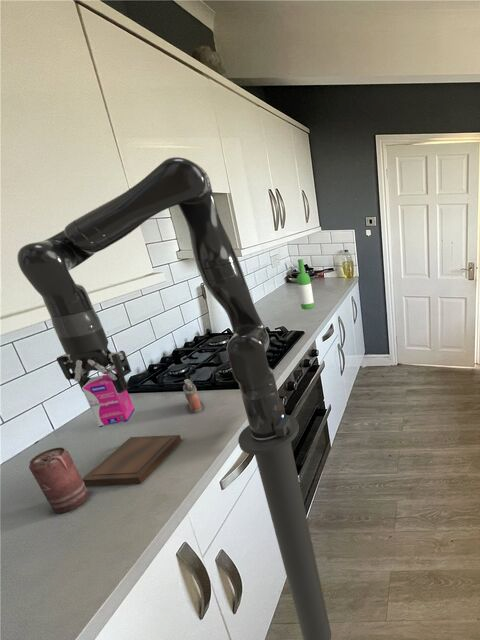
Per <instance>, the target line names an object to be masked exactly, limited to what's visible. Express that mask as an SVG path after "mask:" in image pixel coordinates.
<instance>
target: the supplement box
mask: <svg viewBox="0 0 480 640" xmlns="http://www.w3.org/2000/svg"><path fill="white" fill-rule="evenodd" d="M114 373H115V374H116V372H114ZM112 380H113V379H111V378H110V377H109V376H108V375H107V374H103V375H97V376H91V377H90V380H89V381H88V382H87V383H86V384H85V385H84V386H83V388H82V389H81V391H82V390H83V391H82V393H83V394H84V396H85V399H86V401H87V403H88V405H89V407H90V410H91V412H92V414H93V417H94V419H95V421H96V423H97V425H98V428H103V427H104V428H105V427H107V426H113V425H116V424H122V423H127V422H129V420H130V418H131V416H132V415H133V413H134V411H135V407H134V404H133V402H132V399H131V396H130V394H129V392H128V388H127V389H126V390H125V391H124V392H122V393H117V391H116V389H115V386H114V384H113V381H112Z"/></svg>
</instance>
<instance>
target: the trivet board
mask: <svg viewBox="0 0 480 640" xmlns="http://www.w3.org/2000/svg"><path fill="white" fill-rule="evenodd" d="M181 441H182V438H181V434H171V435H169V434H167V435H148V436H147V435H145V436H130V437H129V438H127V440H125V441H124V442H123V443H122V444H121V445H120V446H119V447H118V448H116V449H115V450H114V451H113V452H112V453H110V454H109V455H108V456H106V457H105V459H103V460H102V461H101V462H99V464H98V465H96V466H95V467H94V468H93V469H92V470H91V471H90V472H88V473H87V474H86V475H85V476H84V477H82V480H83V482H84V484H85V486H86V487H96V486H97V487H98V486H117V485H119V486H120V485H137V484H139V485H140V484H142V483H143V482H144V481H145V480H146V479H147V478H148V477H149V476H150V475H151V473H153V471H154V470H156V468H157V467H158V466H159V465H160V464H161V463H162V462H163V461H164V460H165V459H166V457H167V456H169V455H170V454H171V452H172V451H174V449H175V448H176V447H177V446H178V445H179V444H180V443H181Z"/></svg>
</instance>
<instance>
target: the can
mask: <svg viewBox="0 0 480 640" xmlns="http://www.w3.org/2000/svg"><path fill="white" fill-rule="evenodd" d="M28 463H29V465H28V469H29V471H30V472H31V474H32V476H33V478H34V479H35V481H36V483H37V485H38V486H39V488H40V490H41V491H42V494H43V495H44V497H45V499H46V501H47V502H48V504H49V505H50V508H51V509H52V512H54V513H57V514H64V513H68V512H70V511H74V510H75V509H77V508H79V507H80V506H82V505H84V503H85V502H87V500H88V498H89V495H90V492H89V490H88V487H87V486H85V484H84V482H83V480H82V479H83V477H82V476H81V474H80V472H79V470H78V468H77V466H76V464H75V462H74V460H73V457H72V456H71V454H70V452H69V451H68V450H67V449H65V448H64V447H54V448H50V449H48V450H45V451H42V452H40V453H39V454H37V455H35V456H34V457H32V458H31V459H30V461H29V462H28Z"/></svg>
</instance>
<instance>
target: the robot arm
mask: <svg viewBox="0 0 480 640" xmlns="http://www.w3.org/2000/svg"><path fill="white" fill-rule="evenodd" d="M176 206H178V207H179V209H180V212H181V214H182V216H183V219H184V220H185V222H186V226H187V228H188V232H189V239H190V246H191V251H192V255H193V258H194V262H195V265H196V268H197V270H198V273H199V275H200V277H201V280H202V282H203V285H204V286H205V288H206V290H207V291H208V292H209V294H210V295H211V296H212V297H213V299H214V300H215V301H216V302H217V303H218V304H219V305H220V307H222V309H223V310H224V312H225V314H226V315H227V319H228V320H229V323H230V326H231V329H232V333H233V335H232V336H231V338H230V339H229V340H228V342H227V345H226V355H227V360H228V362H229V366H230V369H231V373H232V376H233V379H234V380H235V381H236V382H237V383H238V387H239V390H240V395H241V399H242V402H243V406H244V410H245V414H246V418H247V422H248V425H249V426H250V429H251V435H252V438H253V439H254V440H256V441H261V442H263V441H269V440H272V439H275V438H277V437H281V436H286V435H288V434H290V433H291V428H290V426H291V424H290V420H289V418H286V415H287V414H286V410H285V404H284V399H283V398H280V395H279V391H278V387H277V381H276V377H275V372H274V370H273V368H272V367H270V366H269V362H268V357H267V354H266V353H267V351H268V348H269V345H270V336H269V333H268V331H267V328H266V327H265V325H264V323H263V321H262V320H261V317H260V316H259V313H258V311H257V309H256V307H255V304H254V302H253V298H252V295H251V292H250V289H249V286H248V284H247V280H246V278H245V275H244V271H243V269H242V266H241V262H240V260H239V258H238V257H239V256H238V255H237V253H236V251H235V250H236V249H234V246H233V244H232V241H231V239H230V237H229V235H228V233H227V231H226V229H225V227H224V225H223V222H222V220H221V217H220V215H219V211H218V208H217V204H216V200H215V196H214V192H213V189H212V183H211V180H210V177H209V175H208V174H207V172H206V170H205V169H204V168H203V167H201V166H200V165H199V164H198V163H196V162H194V161H192V160H190V159H188V158H185V157H179V156H174V157H169V158H166V159H165V160H163V161H162V162H161V163H160V164H158V165H157V166H156V167H155V168H154V169H153V170H152V171H151V172H149V173H148V174H147V175H146V176H145V177H143V179H141V180H140V181H139V182H137V183H136V184H135V185H133V186H131V187H130V188H129V189H128V190H126V191H125V192H123V193H121V194H120V195H118V196H115V197H114V198H112V199H111V200H109V201H107V202H105V203H103V204H102V205H99V206H98V207H95V208H93V209H92V210H90V211H88V212H87V213H84V214H83V215H81V216H80V217H78V218H76V219H74V220H73V221H71V222H69V223H68V224H66V226H65V227H64V229H63V230H62V231H59V232H58V233H56V234H54V235H53V236H50V237H49V238H46V239H44V240H40V241H36V242H31V243H30V242H29V243H27V244H25V245H23V246H22V247H20V248H19V250H18V252H17V264H18V267H19V269H20V271H21V273H22V274H23V275H24V277H25V278H26V279H27V281H28V283H30V285H31V287H32V288H34V290H35V291H36V292H37V293H38V294H39V295H40V296H41V298H42V300H43V303H44V305H45V307H46V310H47V312H48V314H49V316H50V320H51V323H52V327H53V329H54V332H55V334H56V336H57V338H58V341H59V342H60V345H61V347H62V349H63V351H64V354H62V355H60V356H58V357H56V362H57V363H58V366H59V367H60V370H61V371H62V373H63V375H64V377H65V379H66V380H68V381H71V380H74V381H75V382H77V383H78V385H79V387H80V389H81V392H83V390H82V388H83V386H84V385H85V384H86V383H87V382H88V381H89V380H90V378H91V377H90V372H91V371H95V372H100V373H101V374H103V375H108V376H109V377H110V378H111V379H113V380H112V381H113V384H114V386H115V389H116V391H117V393H122V392H124V391H125V390H126V389H127V390H128V384H127V380H126V378H125V377H126V376H127V375H128V374H130V373H132V369H131V366H130V362H129V360H128V357H127V354H126V352H125V351H124V350H119V351H117V352H112V351H111V350H110V349H109V348H108V346H109V339H108V337H107V335H106V332H105V330H104V327H103V325H102V322H101V319H100V317H99V315H98V313H97V312H96V310H95V308H94V306H93V303H92V301H91V299H90V296H89V294H88V292H87V290H86V288H85V287H84V285H82V284H80V283H76V281H75V280H74V279H73V277H72V275H71V273H70V271H72V270H73V269H75V268H77V267H78V266H80V265H81V264H82V263H85V262H86V261H87V260H89V259H90V258H91V257H93V256H94V255H95V254H97V253H99V252H101V251H103V250H105V249H107V248H109V247H110V246H112V245H114V244H115V243H117V242H119V241H121V240H122V239H124V238H126V237H127V236H128V235H130V234H132V233H133V232H134V231H135V230H137V229H138V228H139V227H141V226H142V225H143V224H144V223H145V222H147V221H148V220H149V219H151V218H153V217H154V216H156V215H157V214H160V213H161V212H164V211H165V210H167V209H171V208H173V207H176ZM108 366H109V367H108ZM115 373H116V374H115ZM287 431H288V432H287Z"/></svg>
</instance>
